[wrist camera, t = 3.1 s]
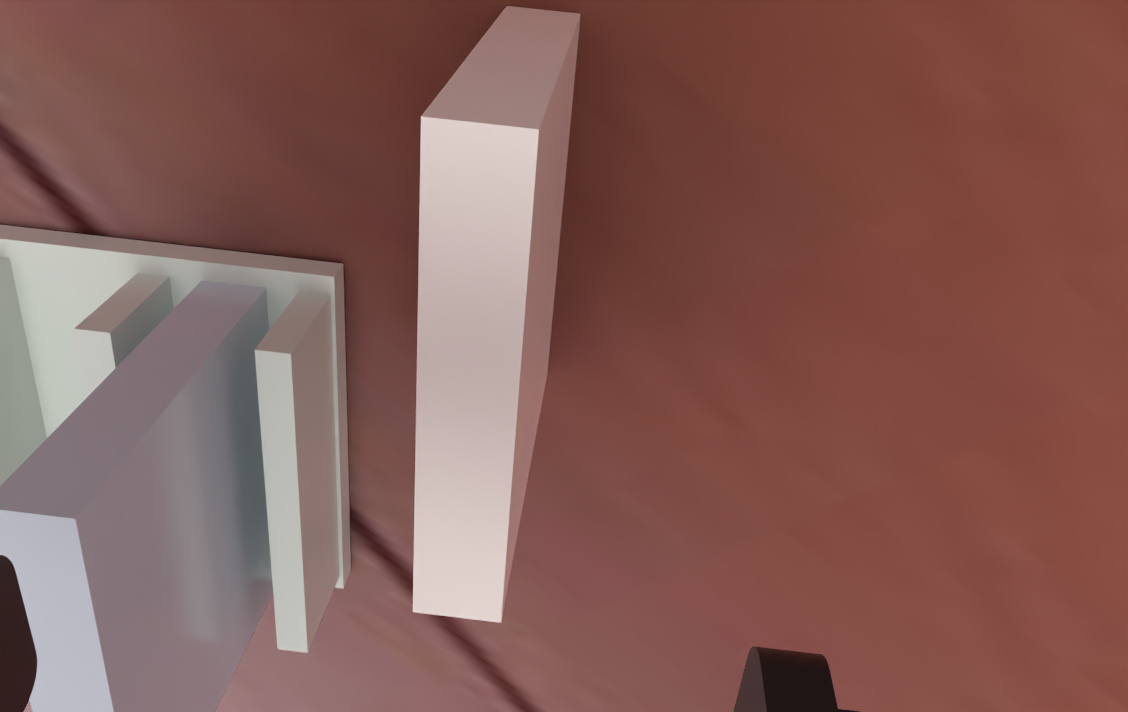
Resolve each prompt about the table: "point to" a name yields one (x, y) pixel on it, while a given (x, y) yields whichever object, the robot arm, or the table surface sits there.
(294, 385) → the rack
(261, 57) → the table surface
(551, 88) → the plate
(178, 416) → the plate
